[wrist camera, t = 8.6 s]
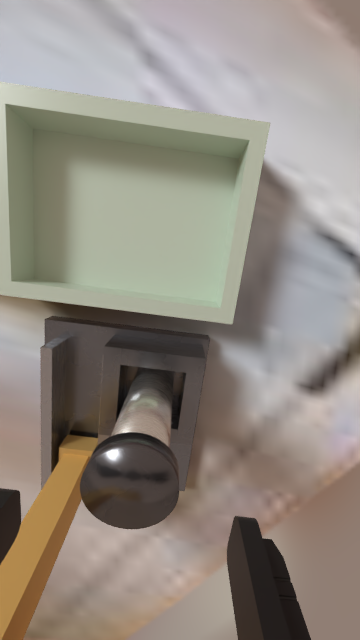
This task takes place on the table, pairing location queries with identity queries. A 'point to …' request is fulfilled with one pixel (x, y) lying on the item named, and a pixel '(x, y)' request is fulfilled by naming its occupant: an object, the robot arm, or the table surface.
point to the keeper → (41, 538)
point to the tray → (125, 203)
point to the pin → (136, 459)
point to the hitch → (113, 382)
